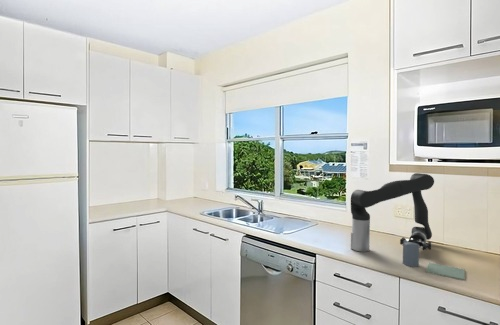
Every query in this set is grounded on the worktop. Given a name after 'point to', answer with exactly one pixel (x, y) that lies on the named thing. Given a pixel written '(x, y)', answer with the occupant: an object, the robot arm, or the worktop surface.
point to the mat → (446, 271)
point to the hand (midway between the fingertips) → (413, 246)
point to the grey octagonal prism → (411, 254)
